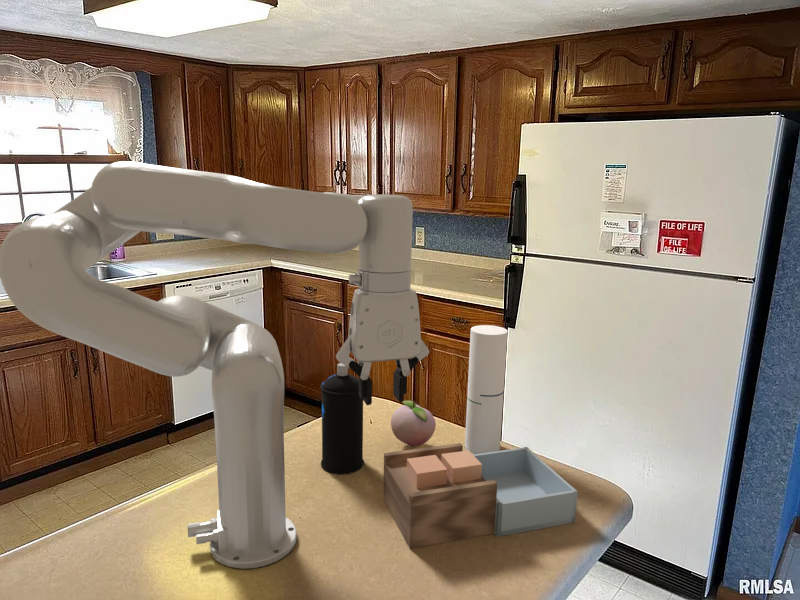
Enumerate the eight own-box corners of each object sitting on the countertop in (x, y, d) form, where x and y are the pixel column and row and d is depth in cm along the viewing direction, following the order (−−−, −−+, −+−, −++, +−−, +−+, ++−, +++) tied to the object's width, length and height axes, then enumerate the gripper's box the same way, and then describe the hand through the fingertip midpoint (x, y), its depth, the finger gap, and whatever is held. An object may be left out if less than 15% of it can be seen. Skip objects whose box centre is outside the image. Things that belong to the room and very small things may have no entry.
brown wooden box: (409, 548, 88) (411, 496, 86) (383, 499, 101) (384, 453, 99) (494, 533, 92) (497, 483, 90) (458, 487, 105) (460, 443, 103)
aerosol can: (372, 461, 114) (373, 362, 109) (346, 479, 107) (346, 375, 102) (338, 449, 118) (338, 354, 114) (311, 466, 111) (310, 366, 107)
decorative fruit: (381, 443, 121) (382, 398, 119) (412, 433, 126) (414, 389, 124) (409, 462, 114) (410, 413, 111) (441, 450, 118) (443, 404, 116)
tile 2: (452, 483, 93) (453, 468, 92) (440, 467, 98) (441, 454, 97) (481, 478, 94) (481, 464, 94) (468, 463, 99) (468, 450, 98)
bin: (497, 536, 91) (499, 504, 90) (456, 484, 106) (457, 456, 105) (574, 522, 95) (577, 491, 94) (524, 474, 110) (526, 447, 109)
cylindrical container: (499, 457, 116) (507, 336, 111) (463, 453, 118) (469, 333, 112) (500, 441, 123) (507, 326, 118) (466, 438, 124) (472, 324, 119)
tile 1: (416, 488, 91) (417, 473, 90) (406, 472, 96) (406, 458, 95) (446, 483, 93) (447, 469, 92) (435, 468, 97) (435, 454, 97)
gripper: (332, 288, 79) (332, 416, 83) (448, 284, 84) (443, 404, 88) (322, 278, 86) (322, 396, 90) (430, 275, 91) (426, 386, 95)
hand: (382, 398), depth 89 cm, fingers open, 4 cm apart
